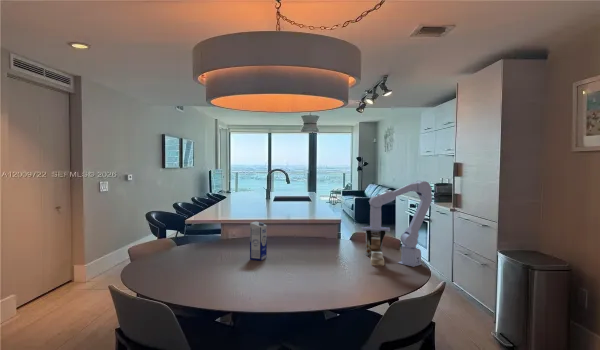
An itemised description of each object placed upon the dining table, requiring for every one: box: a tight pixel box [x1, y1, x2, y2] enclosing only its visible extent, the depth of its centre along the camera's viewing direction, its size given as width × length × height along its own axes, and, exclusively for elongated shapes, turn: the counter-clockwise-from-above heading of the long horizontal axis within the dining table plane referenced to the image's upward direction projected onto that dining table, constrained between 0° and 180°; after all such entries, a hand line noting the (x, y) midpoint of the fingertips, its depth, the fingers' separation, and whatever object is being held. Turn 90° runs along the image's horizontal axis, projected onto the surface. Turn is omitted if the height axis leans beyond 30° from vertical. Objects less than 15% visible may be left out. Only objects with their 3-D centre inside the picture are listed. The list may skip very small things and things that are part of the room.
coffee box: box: [365, 225, 383, 257], centre depth 210 cm, size 9×6×16 cm
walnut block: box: [371, 238, 380, 249], centre depth 190 cm, size 4×4×5 cm
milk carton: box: [249, 221, 268, 262], centre depth 198 cm, size 7×7×20 cm
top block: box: [370, 251, 384, 260], centre depth 190 cm, size 6×6×3 cm
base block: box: [370, 257, 385, 267], centre depth 190 cm, size 6×6×3 cm
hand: (375, 245), depth 190 cm, fingers closed on walnut block, 4 cm apart
